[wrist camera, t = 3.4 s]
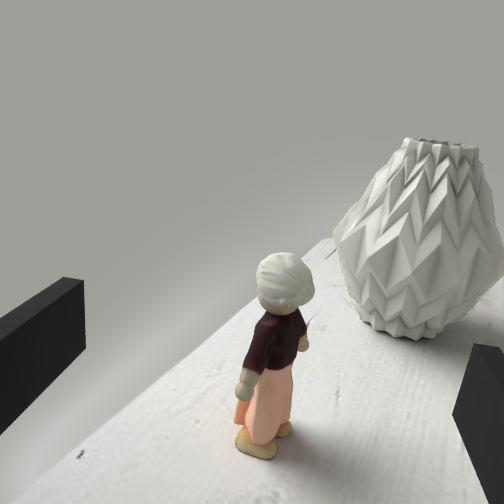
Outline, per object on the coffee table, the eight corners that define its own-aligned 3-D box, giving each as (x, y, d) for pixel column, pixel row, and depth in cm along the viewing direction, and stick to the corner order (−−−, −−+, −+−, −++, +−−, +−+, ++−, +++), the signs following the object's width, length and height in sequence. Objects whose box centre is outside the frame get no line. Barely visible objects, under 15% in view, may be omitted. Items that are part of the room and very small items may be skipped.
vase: (519, 355, 42) (589, 161, 36) (376, 375, 36) (431, 149, 30) (409, 284, 56) (446, 137, 50) (294, 291, 50) (320, 125, 44)
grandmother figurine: (254, 395, 32) (274, 231, 28) (304, 411, 31) (333, 244, 27) (206, 470, 25) (224, 269, 21) (269, 496, 24) (301, 289, 20)
